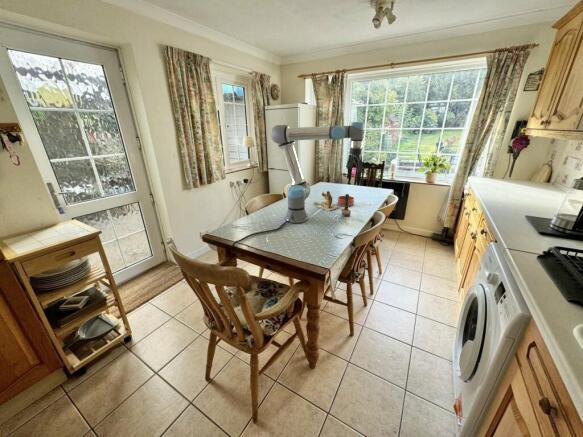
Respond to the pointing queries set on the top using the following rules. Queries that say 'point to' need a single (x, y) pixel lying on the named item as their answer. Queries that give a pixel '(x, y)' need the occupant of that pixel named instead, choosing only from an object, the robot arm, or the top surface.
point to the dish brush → (346, 207)
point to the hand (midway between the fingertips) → (353, 180)
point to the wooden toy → (326, 202)
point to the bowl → (342, 200)
